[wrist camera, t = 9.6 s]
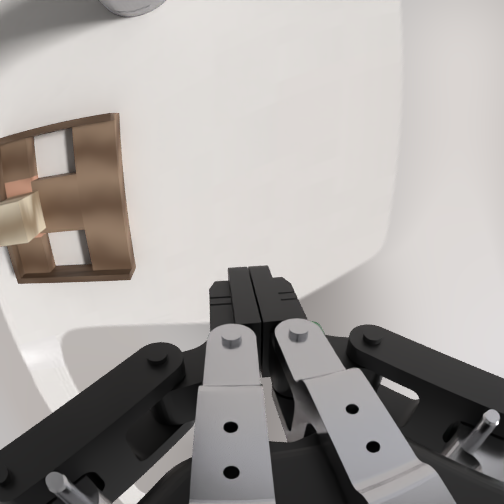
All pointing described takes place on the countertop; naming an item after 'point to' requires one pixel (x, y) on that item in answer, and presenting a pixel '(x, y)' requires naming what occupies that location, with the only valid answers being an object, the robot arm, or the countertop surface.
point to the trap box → (73, 202)
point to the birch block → (20, 219)
